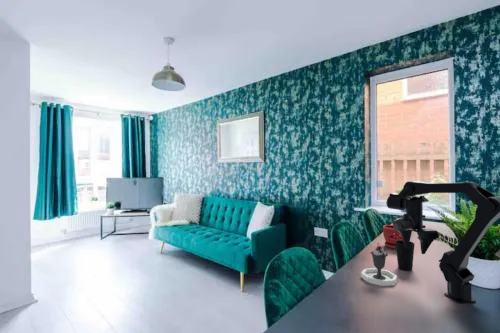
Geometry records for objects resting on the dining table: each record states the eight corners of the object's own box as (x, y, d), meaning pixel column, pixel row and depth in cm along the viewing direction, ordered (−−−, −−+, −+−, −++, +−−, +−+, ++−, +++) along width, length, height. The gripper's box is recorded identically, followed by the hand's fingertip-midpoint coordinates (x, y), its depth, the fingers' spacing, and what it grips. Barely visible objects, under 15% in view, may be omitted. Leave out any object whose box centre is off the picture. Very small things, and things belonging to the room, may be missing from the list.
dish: (403, 284, 105) (403, 279, 105) (373, 286, 103) (373, 281, 103) (384, 272, 118) (383, 267, 118) (356, 273, 116) (356, 269, 116)
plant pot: (413, 250, 147) (413, 228, 147) (390, 250, 147) (390, 229, 147) (400, 243, 160) (400, 224, 160) (379, 243, 160) (378, 224, 160)
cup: (417, 272, 117) (417, 245, 117) (399, 271, 118) (398, 244, 118) (410, 265, 124) (410, 240, 124) (393, 264, 126) (392, 239, 126)
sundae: (375, 281, 107) (375, 244, 107) (367, 274, 114) (367, 239, 114) (391, 280, 107) (391, 243, 107) (382, 274, 114) (382, 239, 114)
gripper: (381, 208, 115) (382, 244, 115) (412, 216, 97) (412, 259, 97) (405, 208, 116) (405, 243, 116) (440, 216, 98) (440, 257, 98)
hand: (414, 250), depth 107 cm, fingers open, 9 cm apart
